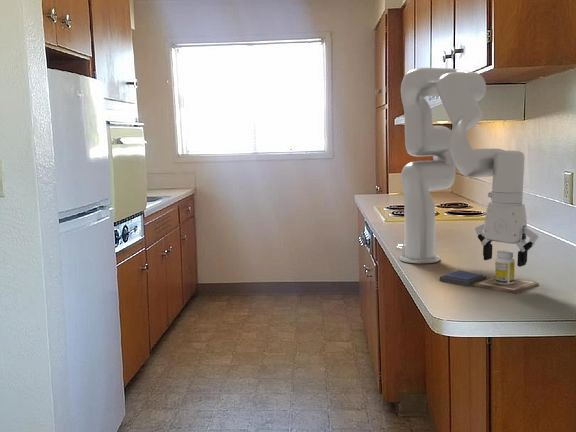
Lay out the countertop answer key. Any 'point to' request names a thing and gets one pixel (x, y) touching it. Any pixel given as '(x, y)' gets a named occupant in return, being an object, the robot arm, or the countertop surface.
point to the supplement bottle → (504, 267)
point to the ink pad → (462, 278)
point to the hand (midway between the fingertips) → (504, 262)
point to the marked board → (512, 288)
